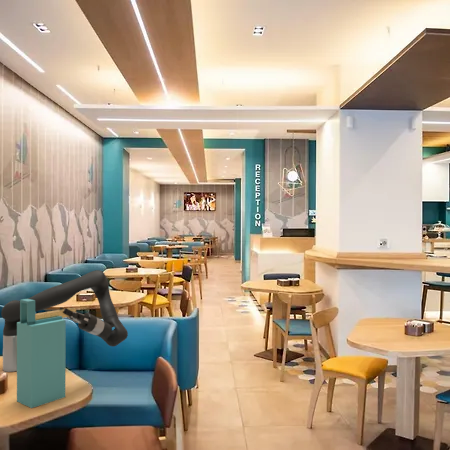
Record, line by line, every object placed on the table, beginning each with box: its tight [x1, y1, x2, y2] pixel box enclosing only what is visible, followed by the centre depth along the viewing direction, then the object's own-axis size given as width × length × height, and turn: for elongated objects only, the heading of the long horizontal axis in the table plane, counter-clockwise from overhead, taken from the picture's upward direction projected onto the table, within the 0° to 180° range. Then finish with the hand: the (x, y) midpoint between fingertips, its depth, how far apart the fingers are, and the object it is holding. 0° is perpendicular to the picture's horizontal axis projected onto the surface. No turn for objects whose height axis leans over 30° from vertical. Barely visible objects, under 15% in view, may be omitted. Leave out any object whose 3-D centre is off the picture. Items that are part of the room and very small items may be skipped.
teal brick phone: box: [16, 298, 67, 409], centre depth 193 cm, size 11×15×41 cm
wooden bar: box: [35, 307, 77, 321], centre depth 197 cm, size 3×20×3 cm, turn 142°
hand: (62, 310), depth 201 cm, fingers closed on wooden bar, 3 cm apart
